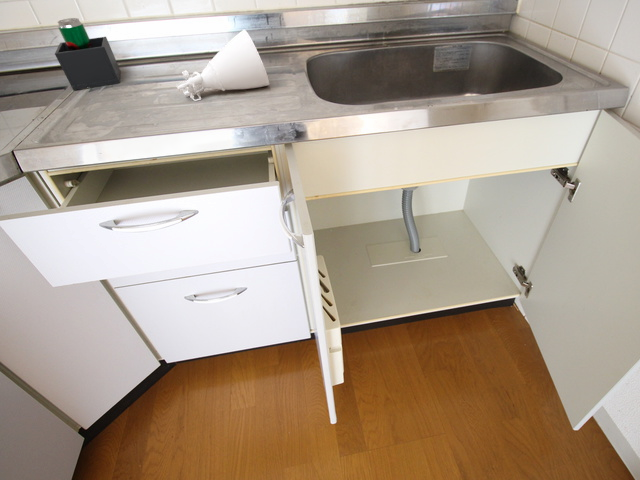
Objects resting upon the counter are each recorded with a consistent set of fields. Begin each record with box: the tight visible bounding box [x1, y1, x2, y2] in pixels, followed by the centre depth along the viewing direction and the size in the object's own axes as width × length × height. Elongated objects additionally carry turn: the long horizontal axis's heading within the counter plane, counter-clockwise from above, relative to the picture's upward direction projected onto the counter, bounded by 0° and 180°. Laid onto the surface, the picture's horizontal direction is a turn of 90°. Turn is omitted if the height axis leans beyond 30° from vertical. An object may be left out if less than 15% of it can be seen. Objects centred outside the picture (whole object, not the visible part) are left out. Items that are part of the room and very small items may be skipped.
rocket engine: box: [176, 29, 270, 102], centre depth 84 cm, size 12×12×18 cm
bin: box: [54, 36, 121, 91], centre depth 94 cm, size 10×10×8 cm
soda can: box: [57, 17, 93, 51], centre depth 92 cm, size 5×5×12 cm
